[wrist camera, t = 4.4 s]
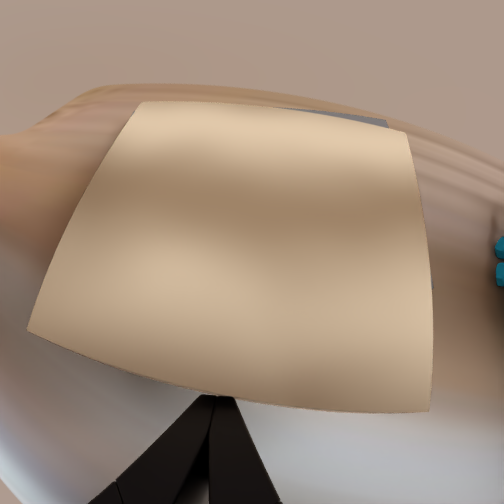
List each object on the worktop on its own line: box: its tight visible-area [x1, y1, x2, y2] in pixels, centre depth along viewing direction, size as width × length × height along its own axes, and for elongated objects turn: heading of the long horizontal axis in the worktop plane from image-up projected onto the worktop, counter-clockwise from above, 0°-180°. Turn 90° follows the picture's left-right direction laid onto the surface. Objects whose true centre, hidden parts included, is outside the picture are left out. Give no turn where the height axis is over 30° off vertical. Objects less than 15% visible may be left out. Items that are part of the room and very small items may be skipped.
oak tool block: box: [26, 101, 433, 413], centre depth 12 cm, size 10×11×8 cm
